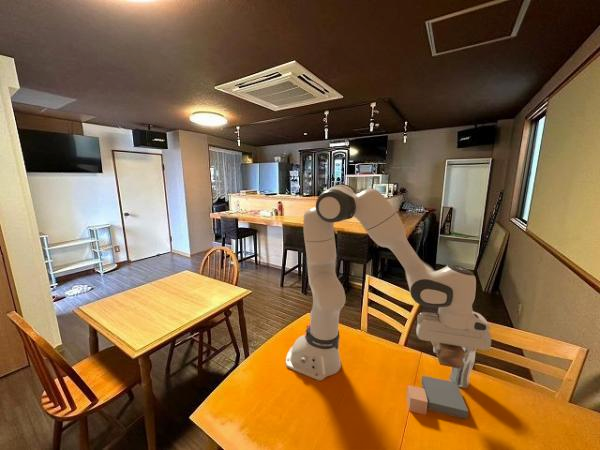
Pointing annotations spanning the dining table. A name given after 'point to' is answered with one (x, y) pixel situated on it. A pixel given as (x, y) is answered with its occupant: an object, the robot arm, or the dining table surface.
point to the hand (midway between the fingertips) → (448, 354)
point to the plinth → (444, 397)
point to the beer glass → (463, 370)
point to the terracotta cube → (417, 399)
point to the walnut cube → (450, 355)
